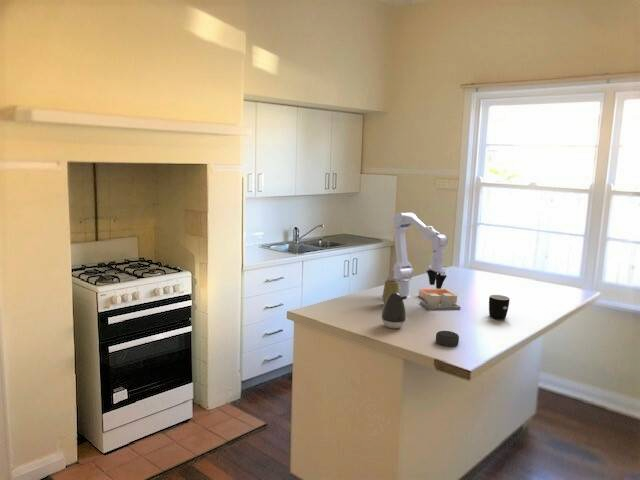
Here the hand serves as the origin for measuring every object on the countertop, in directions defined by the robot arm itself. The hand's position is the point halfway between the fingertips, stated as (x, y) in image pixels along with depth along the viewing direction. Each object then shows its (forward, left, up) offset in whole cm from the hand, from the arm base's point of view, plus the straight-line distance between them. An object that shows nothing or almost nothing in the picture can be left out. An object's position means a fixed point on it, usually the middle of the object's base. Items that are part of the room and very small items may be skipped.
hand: (435, 286), depth 262 cm
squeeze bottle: (-21, +4, -11) cm, 24 cm away
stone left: (-1, -1, -10) cm, 10 cm away
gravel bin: (+8, +13, -10) cm, 19 cm away
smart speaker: (-16, -49, -11) cm, 52 cm away
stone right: (+7, -1, -10) cm, 12 cm away
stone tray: (+3, -1, -10) cm, 11 cm away
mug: (+25, -18, -11) cm, 32 cm away
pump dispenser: (-31, -28, -11) cm, 43 cm away
